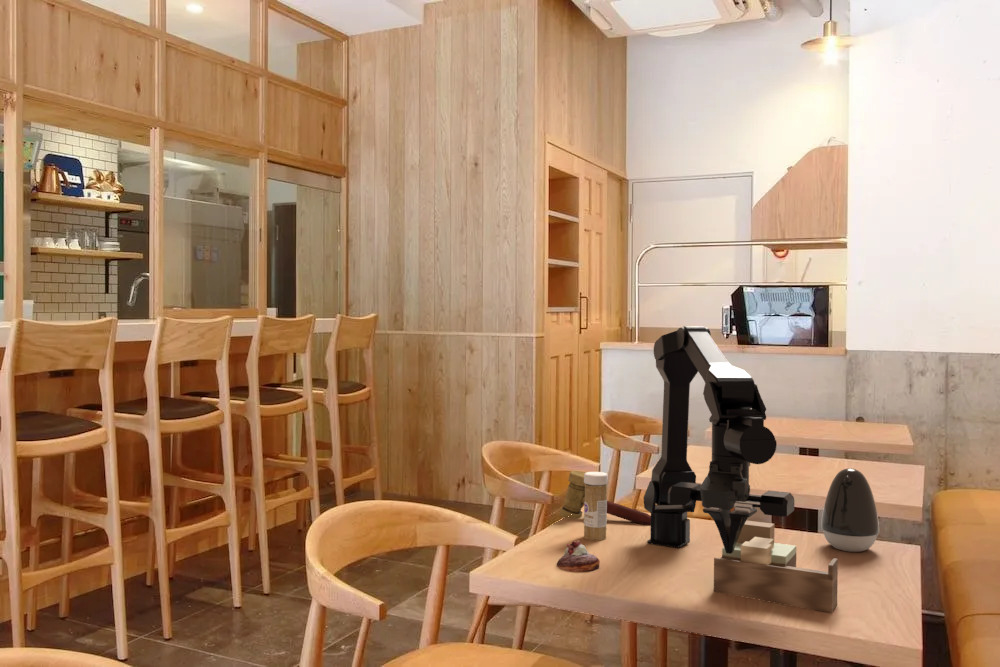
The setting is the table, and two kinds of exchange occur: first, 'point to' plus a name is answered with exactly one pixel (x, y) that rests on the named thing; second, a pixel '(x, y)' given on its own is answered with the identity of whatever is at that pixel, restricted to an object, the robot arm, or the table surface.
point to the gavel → (577, 499)
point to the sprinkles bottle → (595, 505)
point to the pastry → (578, 559)
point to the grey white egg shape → (850, 513)
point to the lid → (763, 530)
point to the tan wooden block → (757, 550)
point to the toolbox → (778, 582)
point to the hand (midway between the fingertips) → (729, 552)
